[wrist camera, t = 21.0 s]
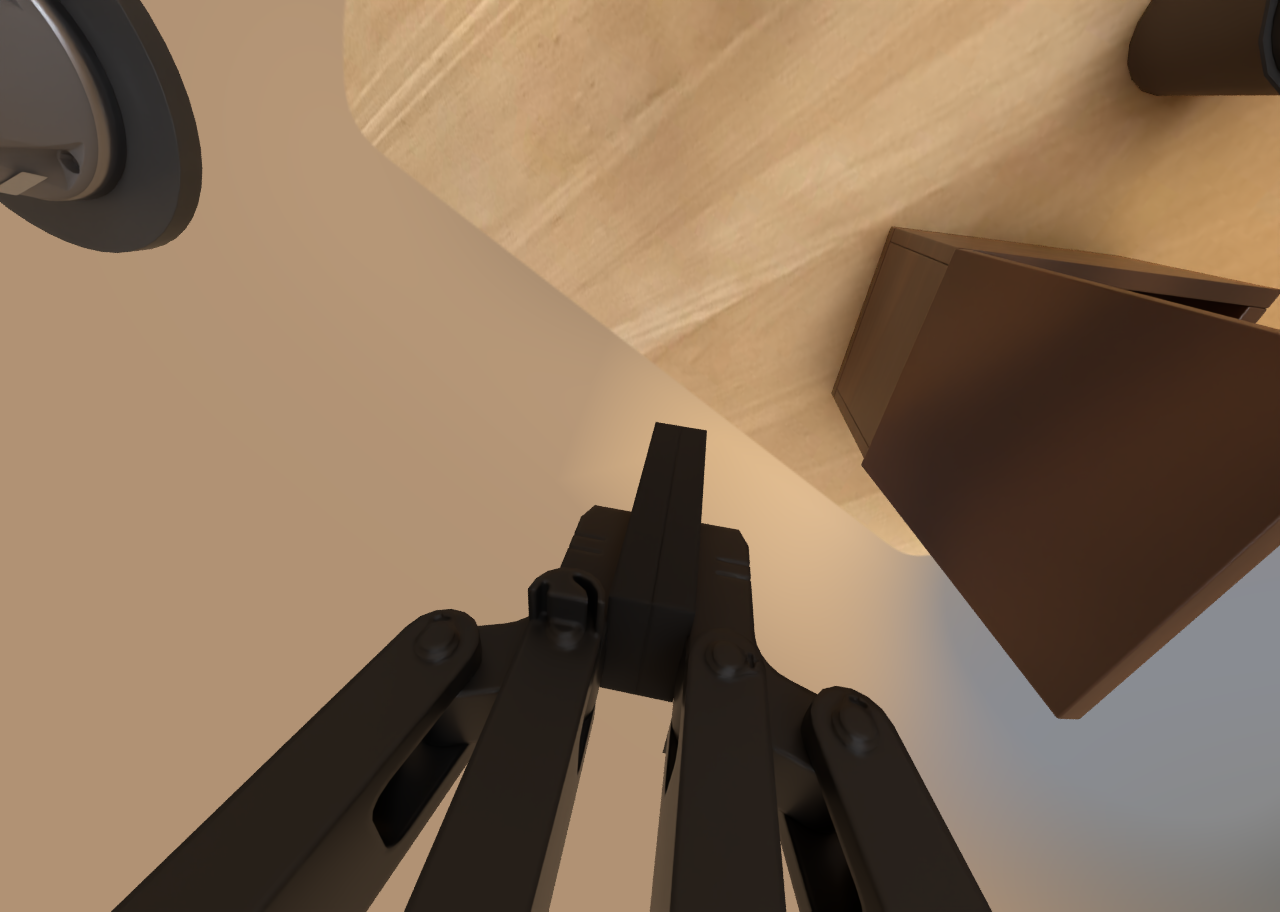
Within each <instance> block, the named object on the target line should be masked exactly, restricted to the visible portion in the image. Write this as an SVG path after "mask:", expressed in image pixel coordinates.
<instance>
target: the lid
mask: <svg viewBox="0 0 1280 912" xmlns="http://www.w3.org/2000/svg"><path fill="white" fill-rule="evenodd" d="M861 465H862V467H863V468H864V469H865V471H866V472H867V473H868V474H869V476H870V477H871V478H872V480H873V481H874V482H875V484H876V485H877V486H878V487H879V489H880V490H881V491H882V493H883V494H884V495H885V496H886V498H887V499H888V500H889V502H890V503H891V504H892V505H893V507H894V508H895V509H896V511H897V512H898V513H899V515H900V516H901V517H902V518H903V520H904V521H905V522H906V524H907V525H908V526H909V527H910V529H911V530H912V531H913V533H914V534H915V535H916V537H917V538H918V539H919V540H920V542H921V543H922V544H923V546H924V547H925V548H926V549H927V551H928V552H929V553H930V555H931V556H932V557H933V558H934V560H935V561H936V562H937V564H938V565H939V566H940V568H941V569H942V570H943V571H944V573H945V574H946V575H947V577H948V578H949V579H950V580H951V581H952V583H953V584H954V586H955V587H956V588H957V589H958V591H959V592H960V593H961V595H962V596H963V597H964V599H965V600H966V601H967V602H968V604H969V605H970V606H971V608H972V609H973V610H974V612H975V613H976V614H977V615H978V616H979V618H980V619H981V621H982V622H983V623H984V624H985V626H986V627H987V628H988V630H989V631H990V632H991V633H992V635H993V636H994V637H995V639H996V640H997V641H998V643H999V644H1000V645H1001V646H1002V648H1003V649H1004V650H1005V652H1006V653H1007V654H1008V655H1009V657H1010V658H1011V659H1012V661H1013V662H1014V663H1015V665H1016V666H1017V667H1018V668H1019V670H1020V671H1021V672H1022V674H1023V675H1024V676H1025V677H1026V679H1027V680H1028V681H1029V683H1030V684H1031V685H1032V687H1033V688H1034V689H1035V690H1036V692H1037V693H1038V694H1039V695H1040V697H1041V698H1042V699H1043V701H1044V702H1045V703H1046V705H1047V706H1048V707H1049V709H1050V710H1051V711H1052V712H1053V714H1054V715H1055V716H1056V717H1057V718H1059V719H1080V718H1081V717H1082V716H1084V715H1085V714H1086V713H1087V712H1088V711H1089V710H1091V709H1092V708H1093V707H1094V706H1095V705H1096V704H1097V703H1099V702H1100V701H1101V700H1102V699H1103V698H1104V697H1106V696H1107V695H1108V694H1109V693H1110V692H1111V691H1112V690H1113V689H1115V688H1116V687H1117V686H1118V685H1119V684H1121V683H1122V682H1123V681H1124V680H1125V679H1126V678H1127V677H1129V676H1130V675H1131V674H1132V673H1133V672H1134V671H1135V670H1137V669H1138V668H1139V667H1140V666H1141V665H1142V664H1143V663H1145V662H1146V661H1147V660H1148V659H1149V658H1150V657H1152V656H1153V655H1154V654H1155V653H1156V652H1157V651H1159V649H1161V648H1162V647H1163V646H1164V645H1165V644H1166V643H1168V642H1169V641H1170V640H1171V639H1172V638H1173V637H1175V636H1176V635H1177V634H1178V633H1179V632H1180V631H1181V630H1183V629H1184V628H1185V627H1186V626H1187V625H1188V624H1190V623H1191V622H1192V621H1193V620H1194V619H1195V618H1197V617H1198V616H1199V615H1200V614H1201V613H1202V612H1203V611H1205V610H1206V609H1207V608H1208V607H1209V606H1210V605H1211V604H1213V603H1214V602H1215V601H1216V600H1217V599H1218V598H1220V597H1221V596H1222V595H1223V594H1224V593H1225V592H1226V591H1227V590H1229V589H1230V588H1231V587H1232V586H1233V585H1234V584H1236V583H1237V582H1238V581H1239V580H1240V579H1241V578H1243V577H1244V576H1245V575H1246V574H1247V573H1248V572H1249V571H1251V570H1252V569H1253V568H1254V567H1255V566H1256V565H1258V564H1259V563H1260V562H1261V561H1262V560H1263V559H1264V558H1266V557H1267V556H1268V555H1269V554H1270V553H1271V552H1272V551H1273V550H1275V549H1276V548H1277V547H1278V546H1279V545H1280V330H1278V329H1274V328H1270V327H1267V326H1263V325H1259V324H1255V323H1251V322H1247V321H1243V320H1240V319H1236V318H1232V317H1228V316H1224V315H1220V314H1216V313H1212V312H1209V311H1205V310H1201V309H1197V308H1193V307H1189V306H1185V305H1182V304H1178V303H1174V302H1170V301H1166V300H1162V299H1158V298H1154V297H1151V296H1147V295H1143V294H1139V293H1135V292H1131V291H1127V290H1124V289H1120V288H1116V287H1112V286H1108V285H1104V284H1100V283H1097V282H1093V281H1089V280H1085V279H1081V278H1077V277H1073V276H1069V275H1066V274H1062V273H1058V272H1054V271H1050V270H1046V269H1042V268H1039V267H1035V266H1031V265H1027V264H1023V263H1019V262H1015V261H1011V260H1008V259H1004V258H1000V257H996V256H992V255H988V254H984V253H981V252H977V251H973V250H966V249H955V251H954V253H953V255H952V258H951V260H950V262H949V264H948V267H947V269H946V271H945V274H944V276H943V278H942V281H941V283H940V285H939V287H938V290H937V292H936V294H935V297H934V299H933V301H932V303H931V306H930V308H929V310H928V313H927V315H926V317H925V320H924V322H923V324H922V326H921V329H920V331H919V333H918V336H917V338H916V340H915V342H914V345H913V347H912V349H911V352H910V354H909V356H908V359H907V361H906V363H905V365H904V368H903V370H902V372H901V375H900V377H899V379H898V381H897V384H896V386H895V388H894V391H893V393H892V395H891V398H890V400H889V402H888V404H887V407H886V409H885V411H884V414H883V416H882V418H881V420H880V423H879V425H878V427H877V430H876V432H875V434H874V437H873V439H872V441H871V443H870V446H869V448H868V450H867V453H866V455H865V457H864V459H863V462H862V464H861Z"/></svg>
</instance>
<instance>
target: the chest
mask: <svg viewBox="0 0 1280 912" xmlns="http://www.w3.org/2000/svg"><path fill="white" fill-rule="evenodd" d="M955 249H966V250H973V251H977V252H981V253H984V254H988V255H992V256H996V257H1000V258H1004V259H1008V260H1011V261H1015V262H1019V263H1023V264H1027V265H1031V266H1035V267H1039V268H1042V269H1046V270H1050V271H1054V272H1058V273H1062V274H1066V275H1069V276H1073V277H1077V278H1081V279H1085V280H1089V281H1093V282H1097V283H1100V284H1104V285H1108V286H1112V287H1116V288H1120V289H1124V290H1127V291H1131V292H1135V293H1139V294H1143V295H1147V296H1151V297H1154V298H1158V299H1162V300H1166V301H1170V302H1174V303H1178V304H1182V305H1185V306H1189V307H1193V308H1197V309H1201V310H1205V311H1209V312H1212V313H1216V314H1220V315H1224V316H1228V317H1232V318H1236V319H1240V320H1243V321H1247V322H1251V323H1255V324H1256V322H1257V321H1258V320H1259V319H1260V318H1261V316H1262V315H1263V314H1264V313H1265V311H1266V310H1267V309H1265V308H1269V307H1270V305H1271V304H1272V303H1273V302H1274V301H1275V299H1276V298H1277V297H1278V296H1279V294H1280V289H1275V288H1270V287H1265V286H1260V285H1256V284H1251V283H1246V282H1241V281H1237V280H1232V279H1227V278H1222V277H1217V276H1213V275H1208V274H1203V273H1198V272H1194V271H1189V270H1184V269H1179V268H1174V267H1170V266H1165V265H1160V264H1155V263H1151V262H1146V261H1141V260H1136V259H1131V258H1126V257H1122V256H1116V255H1109V254H1101V253H1093V252H1085V251H1078V250H1070V249H1062V248H1054V247H1047V246H1039V245H1031V244H1024V243H1016V242H1008V241H1000V240H993V239H985V238H977V237H970V236H962V235H954V234H946V233H939V232H931V231H923V230H915V229H908V228H900V227H891V229H890V232H889V235H888V238H887V240H886V243H885V246H884V249H883V252H882V254H881V257H880V260H879V263H878V265H877V268H876V271H875V274H874V277H873V279H872V282H871V285H870V288H869V291H868V293H867V296H866V299H865V302H864V305H863V307H862V310H861V313H860V316H859V318H858V321H857V324H856V327H855V330H854V332H853V335H852V338H851V341H850V344H849V346H848V349H847V352H846V355H845V358H844V360H843V363H842V366H841V369H840V371H839V374H838V377H837V380H836V383H835V385H834V388H833V391H832V395H833V397H834V399H835V401H836V403H837V405H838V407H839V409H840V411H841V413H842V415H843V417H844V419H845V421H846V423H847V425H848V427H849V429H850V431H851V433H852V435H853V437H854V439H855V441H856V443H857V445H858V447H859V449H860V451H861V453H862V455H863V457H865V455H866V453H867V450H868V448H869V446H870V443H871V441H872V439H873V437H874V434H875V432H876V430H877V427H878V425H879V423H880V420H881V418H882V416H883V414H884V411H885V409H886V407H887V404H888V402H889V400H890V398H891V395H892V393H893V391H894V388H895V386H896V384H897V381H898V379H899V377H900V375H901V372H902V370H903V368H904V365H905V363H906V361H907V359H908V356H909V354H910V352H911V349H912V347H913V345H914V342H915V340H916V338H917V336H918V333H919V331H920V329H921V326H922V324H923V322H924V320H925V317H926V315H927V313H928V310H929V308H930V306H931V303H932V301H933V299H934V297H935V294H936V292H937V290H938V287H939V285H940V283H941V281H942V278H943V276H944V274H945V271H946V269H947V267H948V264H949V262H950V260H951V258H952V255H953V253H954V251H955Z"/></svg>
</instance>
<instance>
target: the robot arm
mask: <svg viewBox="0 0 1280 912" xmlns="http://www.w3.org/2000/svg"><path fill="white" fill-rule="evenodd" d="M125 161H126V136H125V130H124V124H123V120H122V115H121V112H120V108H119V105H118V102H117V99H116V96H115V94H114V91H113V88H112V86H111V84H110V81H109V79H108V77H107V74H106V72H105V70H104V68H103V66H102V64H101V62H100V60H99V59H98V57H97V55H96V53H95V51H94V50H93V48H92V46H91V45H90V43H89V41H88V40H87V38H86V37H85V35H84V33H83V32H82V30H81V29H80V28H79V26H78V25H77V23H76V22H75V20H74V19H73V18H72V16H71V15H70V14H69V12H68V11H67V10H66V9H65V7H64V6H63V5H62V3H61V2H60V1H59V0H0V192H1V193H6V194H11V195H19V194H20V195H25V196H29V197H34V198H38V199H43V200H49V201H70V200H91V199H96V198H99V197H102V196H104V195H106V194H107V193H109V192H110V191H111V190H112V189H113V188H115V186H116V185H117V183H118V182H119V180H120V178H121V176H122V174H123V170H124V167H125ZM706 436H707V431H706V430H701V429H694V428H689V427H682V426H677V425H671V424H665V423H659V422H656V423H655V427H654V431H653V434H652V438H651V442H650V446H649V449H648V453H647V457H646V460H645V464H644V468H643V471H642V475H641V479H640V483H639V486H638V490H637V494H636V497H635V501H634V505H633V508H632V512H630V511H624V510H618V509H613V508H608V507H602V506H597V505H595V506H593V507H592V508H591V509H590V510H589V511H587V512H586V513H585V514H584V515H583V516H582V517H581V519H580V521H579V523H578V526H577V528H576V531H575V534H574V536H573V538H572V540H571V543H570V545H569V548H568V550H567V552H566V555H565V557H564V560H563V562H562V564H561V567H560V568H558V569H554V570H550V571H547V572H545V573H544V574H542V575H541V576H539V577H537V578H536V579H535V581H534V582H533V583H532V584H531V586H530V587H529V588H528V604H529V616H528V617H526V618H524V619H521V620H519V621H516V622H510V623H505V624H495V625H484V626H477V624H476V622H475V620H474V619H473V618H472V617H470V616H469V615H468V614H466V613H465V612H461V611H458V610H453V609H446V610H436V611H433V612H431V613H428V614H425V615H422V616H420V617H419V618H417V619H416V620H415V621H413V622H412V623H410V624H409V625H408V626H407V627H405V628H404V629H403V630H402V631H401V632H400V633H399V634H398V635H397V636H396V637H395V638H394V639H393V640H392V641H391V642H390V643H389V644H388V645H387V646H386V647H385V648H384V649H383V650H382V651H380V653H379V654H377V655H376V656H375V657H374V658H373V659H372V660H371V661H370V662H369V663H368V664H367V665H366V666H365V667H364V668H363V669H362V670H361V671H360V672H359V673H358V674H357V675H356V676H355V677H354V678H353V679H351V680H350V681H349V682H348V683H347V684H346V685H345V686H344V687H343V688H342V689H341V690H340V691H339V692H338V693H337V694H336V695H335V696H334V697H333V698H332V699H331V700H330V701H329V702H328V703H327V704H326V705H325V706H324V707H322V708H321V709H320V711H318V712H317V713H316V714H315V715H314V716H313V717H312V718H311V719H310V720H309V721H308V722H307V723H306V724H305V725H304V726H303V727H302V728H301V729H300V730H299V731H298V732H297V733H296V734H295V735H293V736H292V737H291V739H290V740H288V741H287V742H286V743H285V744H284V745H283V746H282V747H281V748H280V749H279V750H278V751H277V752H276V753H275V754H274V755H273V756H272V757H271V758H270V759H269V760H268V761H267V762H266V763H264V764H263V765H262V766H261V767H260V768H259V769H258V770H257V771H256V772H255V773H254V774H253V775H252V776H251V777H250V778H249V779H248V780H247V781H246V782H245V783H244V784H243V785H242V786H241V787H240V788H239V789H238V790H237V791H235V792H234V793H233V794H232V796H230V797H229V798H228V799H227V800H226V801H225V802H224V803H223V804H222V805H221V806H220V807H219V808H218V809H217V810H216V811H215V812H214V813H213V814H212V815H211V816H210V817H209V818H208V819H207V820H206V821H204V823H202V824H201V825H200V826H199V827H198V828H197V829H196V830H195V831H194V832H193V833H192V834H191V835H190V836H189V837H188V838H187V839H186V840H185V841H184V842H183V843H182V844H181V845H180V846H179V847H178V848H177V849H175V850H174V851H173V852H172V853H171V854H170V855H169V856H168V857H167V858H166V859H165V860H164V861H163V862H162V863H161V864H160V865H159V866H158V867H157V868H156V869H155V870H154V871H153V872H152V873H151V874H150V875H149V876H147V877H146V878H145V879H144V880H143V881H142V882H141V883H140V884H139V885H138V886H137V887H136V888H135V889H134V890H133V891H132V892H131V893H130V894H129V895H128V896H127V897H126V898H125V899H124V900H123V901H122V902H121V903H120V904H119V905H117V906H116V907H115V908H114V909H113V910H112V911H111V912H366V911H367V910H368V908H369V907H370V906H371V904H372V903H373V901H374V899H375V898H376V896H377V895H378V894H379V892H380V891H381V889H382V888H383V886H384V885H385V883H386V882H387V881H388V879H389V878H390V876H391V875H392V873H393V872H394V870H395V869H396V867H397V866H398V864H399V863H400V861H401V860H402V859H403V857H404V856H405V854H406V853H407V851H408V850H409V848H410V847H411V845H412V844H413V842H414V841H415V839H416V838H417V837H418V835H419V834H420V832H421V831H422V829H423V828H424V826H425V825H426V823H427V822H428V820H429V819H430V817H431V816H432V814H433V813H434V812H435V810H436V809H437V807H438V806H439V804H440V803H441V801H442V800H443V798H444V797H445V795H446V794H447V792H448V791H449V790H450V788H451V787H452V785H453V784H454V782H455V781H456V779H457V778H458V776H459V775H460V773H461V772H462V770H463V769H464V768H465V766H466V765H467V767H466V769H465V771H464V774H463V776H462V778H461V780H460V783H459V785H458V788H457V790H456V792H455V794H454V797H453V799H452V801H451V804H450V806H449V808H448V811H447V813H446V815H445V818H444V820H443V822H442V825H441V827H440V829H439V832H438V834H437V836H436V839H435V841H434V843H433V846H432V848H431V850H430V853H429V855H428V857H427V859H426V862H425V864H424V867H423V869H422V871H421V873H420V876H419V878H418V880H417V883H416V885H415V887H414V890H413V892H412V894H411V897H410V899H409V901H408V904H407V906H406V908H405V911H404V912H549V907H550V903H551V898H552V894H553V890H554V886H555V882H556V877H557V873H558V869H559V864H560V860H561V856H562V852H563V847H564V843H565V839H566V835H567V830H568V826H569V822H570V818H571V813H572V809H573V805H574V800H575V796H576V792H577V788H578V783H579V779H580V775H581V771H582V766H583V762H584V758H585V754H586V749H587V745H588V740H589V737H590V732H591V728H592V724H593V720H594V713H595V702H596V698H597V694H598V690H599V686H600V687H602V688H607V689H612V690H616V691H621V692H626V693H630V694H635V695H640V696H645V697H649V698H654V699H659V700H664V701H668V702H673V712H672V719H671V723H670V727H669V731H668V734H667V739H666V742H665V746H664V750H663V753H666V757H665V767H664V777H663V787H662V797H661V808H660V817H659V827H658V836H657V847H656V856H655V866H654V876H653V887H652V896H651V906H650V912H786V904H785V892H784V879H783V867H782V856H781V845H782V849H783V852H784V856H785V860H786V863H787V867H788V871H789V874H790V878H791V881H792V885H793V889H794V893H795V896H796V900H797V904H798V907H799V911H800V912H992V911H991V909H990V907H989V905H988V903H987V901H986V899H985V897H984V895H983V894H982V892H981V890H980V888H979V886H978V884H977V882H976V881H975V878H974V877H973V875H972V873H971V871H970V869H969V867H968V865H967V863H966V861H965V860H964V858H963V856H962V854H961V852H960V850H959V848H958V846H957V844H956V843H955V841H954V839H953V837H952V835H951V833H950V831H949V829H948V827H947V825H946V824H945V822H944V820H943V818H942V816H941V814H940V812H939V810H938V808H937V806H936V805H935V803H934V801H933V799H932V797H931V795H930V793H929V792H928V790H927V788H926V786H925V784H924V782H923V780H922V778H921V776H920V774H919V773H918V771H917V769H916V767H915V765H914V763H913V761H912V759H911V757H910V755H909V753H908V752H907V750H906V748H905V746H904V744H903V742H902V740H901V738H900V737H899V735H898V733H897V731H896V729H895V727H894V725H893V724H892V722H891V721H890V720H889V718H888V717H887V716H886V714H885V713H884V711H883V710H882V709H881V708H880V707H879V706H878V705H877V704H875V703H874V702H873V701H872V700H871V699H870V698H868V697H867V696H865V695H863V694H861V693H859V692H857V691H855V690H853V689H851V688H845V687H839V686H834V687H830V688H826V689H822V691H821V692H820V693H819V694H816V693H814V692H812V691H810V690H808V689H806V688H804V687H802V686H800V685H798V684H796V683H794V682H793V681H791V680H789V679H787V678H786V677H784V676H782V675H781V674H779V673H778V672H777V671H776V670H775V669H773V668H772V667H771V666H770V665H769V664H768V663H767V662H766V660H765V659H764V657H763V656H762V655H761V652H760V650H759V648H758V646H757V644H756V639H755V632H754V618H753V604H752V589H751V581H750V579H751V574H750V567H749V564H750V560H749V547H748V545H747V543H746V541H745V539H744V538H743V536H742V534H741V533H740V531H739V530H736V529H731V528H726V527H720V526H714V525H709V524H703V523H701V515H702V498H703V484H704V467H705V452H706ZM673 698H674V701H673ZM467 763H468V764H467ZM780 841H781V844H780Z"/></svg>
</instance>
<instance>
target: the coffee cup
mask: <svg viewBox="0 0 1280 912" xmlns="http://www.w3.org/2000/svg"><path fill="white" fill-rule="evenodd" d="M1128 67H1129V71H1130V75H1131V79H1132V80H1133V82H1134V83H1135V84H1136V85H1137V86H1138V87H1139V88H1140V89H1141V90H1142V91H1145V92H1148V93H1151V94H1153V95H1156V96H1172V95H1280V0H1152V1H1151V3H1150V4H1149V6H1148V7H1147V9H1146V11H1145V12H1144V14H1143V15H1142V17H1141V18H1140V20H1139V21H1138V24H1137V26H1136V29H1135V31H1134V34H1133V37H1132V39H1131V42H1130V45H1129V55H1128Z"/></svg>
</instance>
